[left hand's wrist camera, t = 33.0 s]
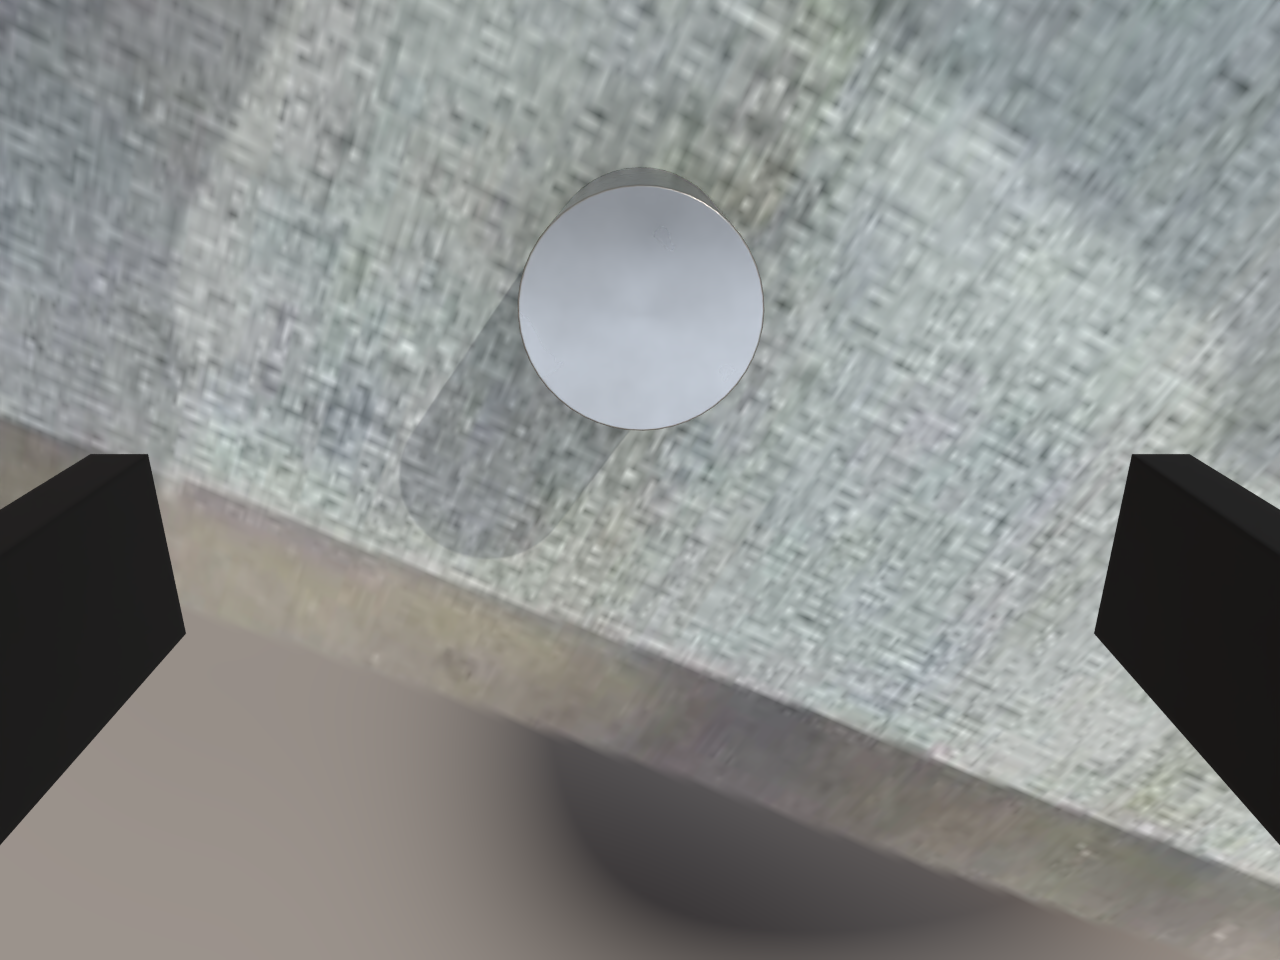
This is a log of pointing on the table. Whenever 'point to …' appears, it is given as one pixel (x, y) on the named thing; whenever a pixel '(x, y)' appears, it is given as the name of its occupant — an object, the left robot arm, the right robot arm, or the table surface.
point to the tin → (640, 302)
